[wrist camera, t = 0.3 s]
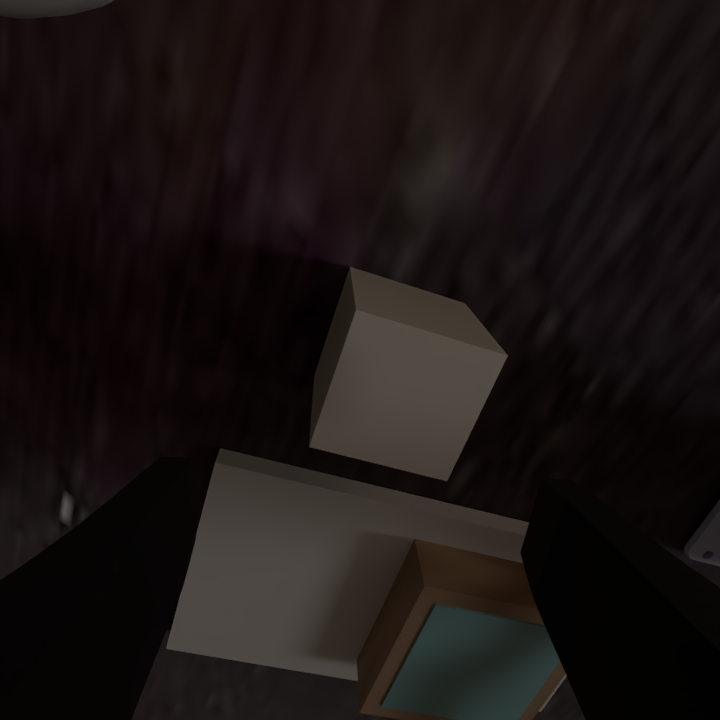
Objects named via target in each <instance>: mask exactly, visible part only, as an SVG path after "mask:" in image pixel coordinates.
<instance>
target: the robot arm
mask: <svg viewBox="0 0 720 720" xmlns="http://www.w3.org/2000/svg"><path fill="white" fill-rule="evenodd" d="M195 540H196V526H195V499H194V472H193V458H179V457H161V458H159V459H158V460H157V461H156V462H154V463H153V464H152V465H151V466H149V467H148V468H147V469H146V470H145V471H143V472H142V473H141V474H140V475H139V476H137V477H136V478H135V479H134V480H133V481H131V482H130V483H129V484H128V485H127V486H125V487H124V488H123V489H122V490H121V491H119V492H118V493H117V494H116V495H115V496H114V497H112V498H111V499H110V500H109V501H107V502H106V503H105V504H104V505H102V506H101V507H100V508H99V509H97V510H96V511H95V512H94V513H92V514H91V515H90V516H89V517H87V518H86V519H85V520H84V521H82V522H81V523H80V524H79V525H77V526H76V527H75V528H74V529H72V530H71V531H69V532H68V533H67V534H65V535H64V536H63V537H61V538H60V539H59V540H57V541H56V542H54V543H53V544H52V545H50V546H49V547H48V548H46V549H45V550H44V551H42V552H41V553H40V554H38V555H37V556H35V557H34V558H33V559H31V560H30V561H28V562H27V563H25V564H24V565H23V566H21V567H20V568H18V569H17V570H15V571H14V572H12V573H11V574H9V575H8V576H6V577H5V578H3V579H2V580H0V720H131V719H132V717H133V714H134V711H135V708H136V705H137V703H138V700H139V698H140V695H141V693H142V690H143V688H144V685H145V683H146V680H147V678H148V675H149V673H150V670H151V668H152V665H153V663H154V660H155V657H156V655H157V652H158V650H159V647H160V645H161V642H162V640H163V637H164V635H165V632H166V630H167V627H168V625H169V622H170V620H171V617H172V614H173V612H174V609H175V607H176V604H177V602H178V599H179V596H180V594H181V591H182V589H183V586H184V582H185V578H186V575H187V571H188V567H189V564H190V560H191V556H192V552H193V548H194V544H195ZM684 552H685V553H686V555H687V556H688V557H689V558H690V559H692V560H695V561H699V562H703V563H708V564H712V565H716V566H720V500H719V501H718V502H717V504H716V505H715V506H714V508H713V509H712V510H711V512H710V513H709V514H708V516H707V517H706V518H705V520H704V521H703V522H702V524H701V525H700V526H699V528H698V529H697V530H696V532H695V533H694V534H693V536H692V537H691V538H690V540H689V541H688V542H687V544H686V545H685V547H684ZM520 554H521V557H522V561H523V565H524V568H525V572H526V576H527V579H528V582H529V586H530V589H531V592H532V595H533V599H534V601H535V604H536V606H537V609H538V611H539V613H540V616H541V618H542V620H543V623H544V625H545V627H546V630H547V632H548V634H549V637H550V639H551V641H552V644H553V646H554V648H555V650H556V653H557V655H558V657H559V660H560V662H561V664H562V666H563V669H564V671H565V673H566V675H567V678H568V680H569V682H570V685H571V687H572V689H573V691H574V694H575V696H576V698H577V701H578V703H579V705H580V707H581V710H582V712H583V714H584V717H585V719H586V720H720V587H718V586H717V585H715V584H714V583H712V582H711V581H709V580H708V579H707V578H705V577H704V576H702V575H701V574H699V573H698V572H696V571H695V570H693V569H692V568H690V567H689V566H688V565H686V564H685V563H683V562H682V561H681V560H679V559H678V558H676V557H675V556H674V555H672V554H671V553H669V552H668V551H667V550H665V549H664V548H663V547H661V546H660V545H659V544H657V543H656V542H655V541H653V540H652V539H650V538H649V537H648V536H646V535H645V534H644V533H642V532H641V531H640V530H638V529H637V528H636V527H634V526H633V525H632V524H631V523H629V522H628V521H627V520H625V519H624V518H623V517H621V516H620V515H619V514H617V513H616V512H615V511H613V510H612V509H611V508H609V507H608V506H607V505H605V504H604V503H603V502H601V501H600V500H599V499H597V498H596V497H595V496H593V495H592V494H591V493H589V492H588V491H586V490H585V489H583V488H582V487H581V486H579V485H578V484H576V483H575V482H573V481H571V480H565V479H548V478H542V481H541V485H540V488H539V491H538V495H537V498H536V501H535V505H534V508H533V511H532V515H531V518H530V522H529V525H528V528H527V532H526V535H525V538H524V542H523V545H522V549H521V552H520Z"/></svg>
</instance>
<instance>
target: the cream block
mask: <svg viewBox="0 0 720 720" xmlns="http://www.w3.org/2000/svg"><path fill="white" fill-rule="evenodd" d="M507 356H508V355H507V354H506V353H505V352H504V350H503V349H502V348H501V347H500V345H499V344H498V343H497V342H496V341H495V339H494V338H493V337H492V336H491V335H490V333H489V332H488V331H487V330H486V328H485V327H484V326H483V325H482V324H481V322H480V321H479V320H478V319H477V317H476V316H475V315H474V314H473V313H472V311H471V310H470V309H469V308H468V307H467V305H466V304H465V303H462V302H459V301H456V300H453V299H450V298H446V297H443V296H440V295H437V294H434V293H431V292H428V291H424V290H421V289H418V288H415V287H412V286H409V285H406V284H402V283H399V282H396V281H393V280H390V279H387V278H384V277H380V276H377V275H374V274H371V273H368V272H365V271H362V270H358V269H355V268H352V267H350V268H349V271H348V274H347V277H346V280H345V283H344V286H343V289H342V292H341V296H340V299H339V302H338V305H337V308H336V311H335V314H334V317H333V320H332V323H331V326H330V329H329V332H328V335H327V338H326V341H325V344H324V347H323V350H322V354H321V357H320V360H319V363H318V366H317V369H316V372H315V375H314V386H313V399H312V413H311V427H310V441H309V447H311V448H315V449H319V450H323V451H327V452H331V453H335V454H339V455H343V456H347V457H352V458H356V459H360V460H364V461H368V462H372V463H376V464H380V465H384V466H388V467H392V468H396V469H400V470H404V471H408V472H412V473H416V474H420V475H424V476H428V477H432V478H436V479H440V480H444V481H447V480H448V478H449V476H450V474H451V472H452V470H453V468H454V466H455V464H456V462H457V460H458V458H459V456H460V454H461V451H462V449H463V447H464V445H465V443H466V441H467V439H468V437H469V435H470V433H471V431H472V429H473V427H474V425H475V422H476V420H477V418H478V416H479V414H480V412H481V410H482V408H483V406H484V404H485V402H486V400H487V398H488V396H489V393H490V391H491V389H492V387H493V385H494V383H495V381H496V379H497V377H498V375H499V373H500V371H501V369H502V367H503V364H504V362H505V360H506V358H507Z"/></svg>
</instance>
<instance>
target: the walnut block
mask: <svg viewBox="0 0 720 720" xmlns="http://www.w3.org/2000/svg"><path fill="white" fill-rule="evenodd" d="M357 674H358V695H359V713H363V714H370V715H376V716H382V717H389V718H395V719H402V720H533V718H534V717H535V715H536V714H537V713H538V711H539V710H540V708H541V707H542V706H543V704H544V703H545V702H546V700H547V699H548V697H549V696H550V695H551V693H552V692H553V690H554V689H555V688H556V686H557V685H558V684H559V682H560V681H561V679H562V678H563V677H564V675H565V674H566V673H565V671H564V669H563V666H562V664H561V662H560V660H559V657H558V655H557V653H556V650H555V648H554V646H553V644H552V641H551V639H550V637H549V634H548V632H547V630H546V627H545V625H544V623H543V620H542V618H541V616H540V613H539V611H538V609H537V606H536V604H535V601H534V599H533V595H532V592H531V589H530V586H529V582H528V579H527V576H526V572H525V568H524V565H523V563H520V562H516V561H511V560H507V559H502V558H498V557H493V556H489V555H484V554H480V553H476V552H471V551H467V550H462V549H458V548H453V547H449V546H444V545H440V544H435V543H431V542H427V541H422V540H418V539H414V541H413V543H412V546H411V548H410V550H409V552H408V554H407V556H406V558H405V560H404V562H403V564H402V566H401V568H400V571H399V573H398V575H397V577H396V579H395V581H394V583H393V585H392V587H391V589H390V591H389V594H388V596H387V598H386V600H385V602H384V604H383V606H382V608H381V610H380V612H379V614H378V617H377V619H376V621H375V623H374V625H373V627H372V629H371V631H370V633H369V635H368V637H367V639H366V642H365V644H364V646H363V648H362V650H361V652H360V654H359V656H358V658H357Z"/></svg>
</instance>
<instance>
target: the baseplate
mask: <svg viewBox="0 0 720 720" xmlns="http://www.w3.org/2000/svg"><path fill="white" fill-rule="evenodd" d="M528 525H529V522H525V521H521V520H517V519H513V518H508V517H504V516H500V515H496V514H492V513H488V512H483V511H479V510H475V509H471V508H467V507H463V506H459V505H454V504H450V503H446V502H442V501H438V500H434V499H429V498H425V497H421V496H417V495H413V494H409V493H405V492H400V491H396V490H392V489H388V488H384V487H380V486H376V485H371V484H367V483H363V482H359V481H355V480H351V479H346V478H342V477H338V476H334V475H330V474H326V473H322V472H317V471H313V470H309V469H305V468H301V467H297V466H293V465H288V464H284V463H280V462H276V461H272V460H268V459H263V458H259V457H255V456H251V455H247V454H243V453H239V452H234V451H230V450H226V449H222V448H220V450H219V453H218V456H217V459H216V461H215V465H214V468H213V472H212V476H211V480H210V484H209V488H208V491H207V495H206V499H205V503H204V507H203V510H202V514H201V518H200V522H199V526H198V529H197V533H196V540H195V544H194V548H193V552H192V556H191V560H190V564H189V567H188V571H187V575H186V578H185V582H184V586H183V589H182V591H181V594H180V598H179V602H178V605H177V609H176V613H175V617H174V621H173V625H172V628H171V632H170V636H169V640H168V644H167V647H166V649H170V650H176V651H182V652H188V653H194V654H200V655H206V656H212V657H218V658H224V659H230V660H236V661H242V662H248V663H254V664H260V665H265V666H271V667H277V668H283V669H289V670H295V671H301V672H307V673H313V674H319V675H325V676H331V677H337V678H343V679H349V680H355V681H358V674H357V658H358V656H359V654H360V652H361V650H362V648H363V646H364V644H365V642H366V639H367V637H368V635H369V633H370V631H371V629H372V627H373V625H374V623H375V621H376V619H377V617H378V614H379V612H380V610H381V608H382V606H383V604H384V602H385V600H386V598H387V596H388V594H389V591H390V589H391V587H392V585H393V583H394V581H395V579H396V577H397V575H398V573H399V571H400V568H401V566H402V564H403V562H404V560H405V558H406V556H407V554H408V552H409V550H410V548H411V546H412V543H413V541H414V539H418V540H422V541H427V542H431V543H435V544H440V545H444V546H449V547H453V548H458V549H462V550H467V551H471V552H476V553H480V554H484V555H489V556H493V557H498V558H502V559H507V560H511V561H516V562H520V563H523V561H522V557H521V554H520V552H521V549H522V545H523V542H524V538H525V535H526V532H527V528H528ZM566 676H567V675H566V674H565V675H564V677H563V678H562V679H561V681H560V682H559V684H558V685H557V686H556V688H555V689H554V690H553V692H552V693H551V695H550V696H549V697H548V699H547V700H546V702H545V703H544V704H543V706H542V707H541V708H540V710H539V712H541V711H542V709H543V708H544V707H545V705H546V704H547V703H548V701H549V700H550V698H551V697H552V696H553V694H554V693H555V692H556V690H557V689H558V687H559V686H560V685H561V683H562V682H563V681H564V679H565V678H566Z"/></svg>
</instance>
